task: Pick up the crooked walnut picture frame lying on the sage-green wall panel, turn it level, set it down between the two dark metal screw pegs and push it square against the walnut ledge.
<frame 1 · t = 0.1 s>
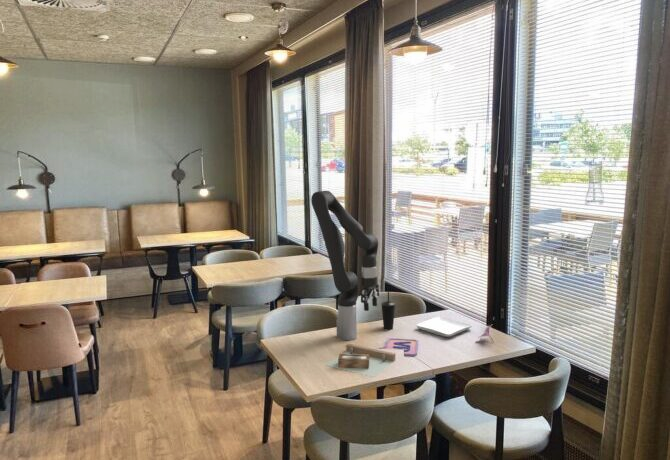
hand: (370, 308, 247), 17 cm above the table, tool pointing down, fingers open, 8 cm apart
wall panel: (360, 364, 224), on the table
frame: (354, 365, 221), point 1 cm above the table, touching wall panel
icon: (396, 348, 243), on the table
drinking cup: (388, 328, 269), on the table
salad plate: (443, 331, 266), on the table
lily: (485, 341, 249), on the table
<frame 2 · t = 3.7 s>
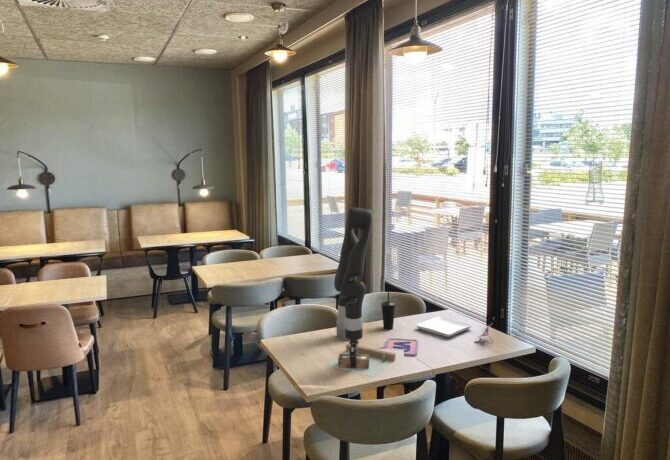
hand: (354, 364, 221), 2 cm above the table, tool pointing down, fingers closed on frame, 5 cm apart
frame: (354, 365, 221), point 1 cm above the table, touching gripper, wall panel
everything else where it was.
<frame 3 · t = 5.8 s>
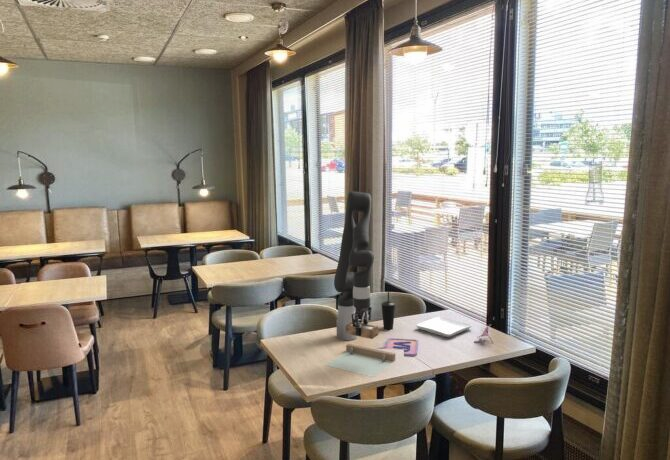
hand: (361, 333, 223), 14 cm above the table, tool pointing down, fingers closed on frame, 5 cm apart
frame: (361, 334, 223), point 13 cm above the table, touching gripper
everything else where it was.
when the fingers open (3 cm above the table, at t = 8.2 s): frame drops 1 cm, resting on wall panel.
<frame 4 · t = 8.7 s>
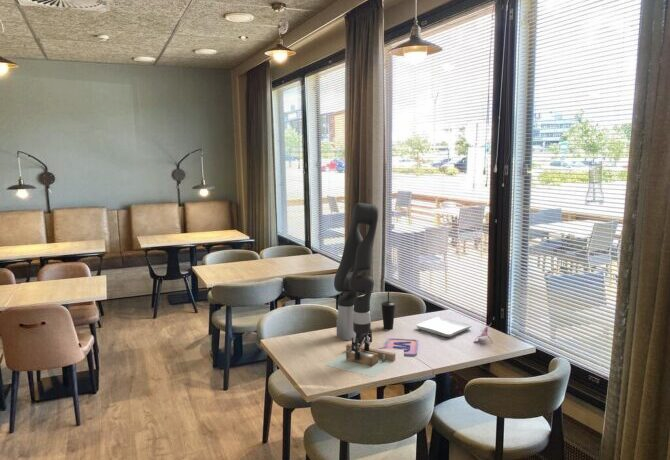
hand: (362, 356, 224), 3 cm above the table, tool pointing down, fingers open, 8 cm apart
frame: (362, 361, 225), point 1 cm above the table, touching wall panel
everything else where it was.
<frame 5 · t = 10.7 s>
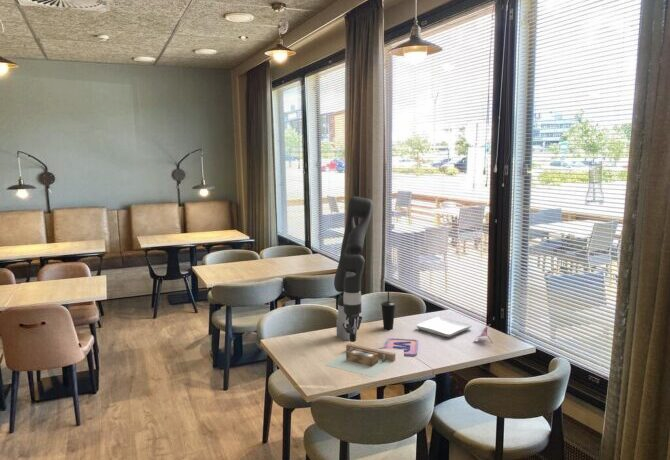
hand: (352, 341, 216), 13 cm above the table, tool pointing down, fingers closed
nothing on the table moved.
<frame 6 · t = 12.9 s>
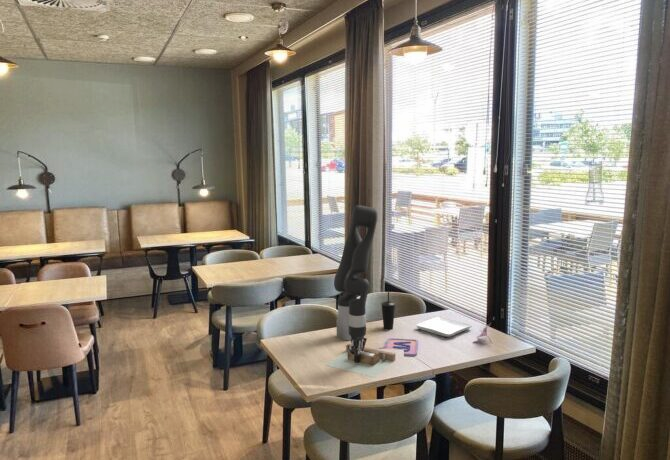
hand: (357, 362, 221), 2 cm above the table, tool pointing down, fingers closed
frame: (363, 360, 226), point 1 cm above the table, touching gripper, wall panel
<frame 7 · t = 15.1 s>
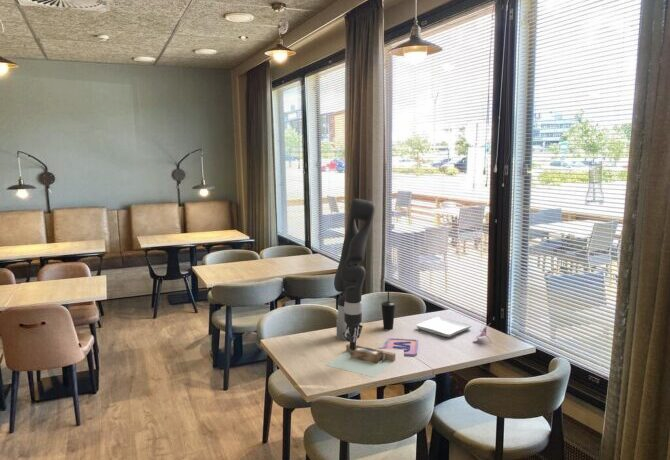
hand: (352, 349, 221), 8 cm above the table, tool pointing down, fingers closed
frame: (366, 358, 228), point 1 cm above the table, touching wall panel
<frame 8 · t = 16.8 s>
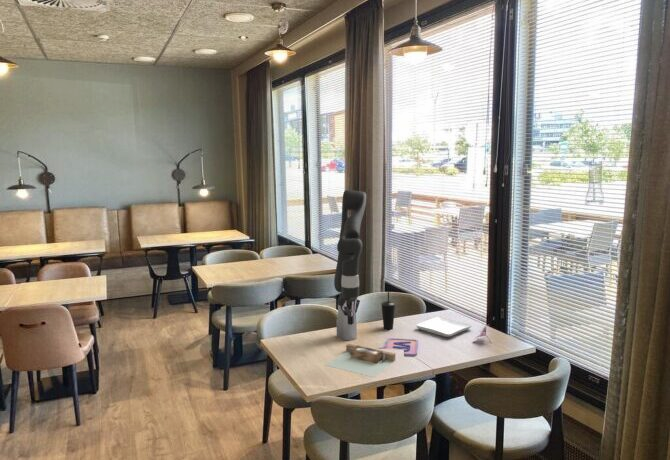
hand: (350, 323, 220), 19 cm above the table, tool pointing down, fingers closed
at the end: frame 0.2 cm from the target spot on the wall panel, point 1.0 cm above the wall panel's base; frame tilted 0°; the gripper is holding nothing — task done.
